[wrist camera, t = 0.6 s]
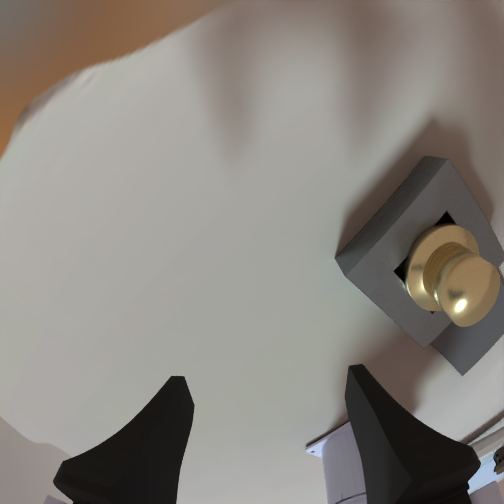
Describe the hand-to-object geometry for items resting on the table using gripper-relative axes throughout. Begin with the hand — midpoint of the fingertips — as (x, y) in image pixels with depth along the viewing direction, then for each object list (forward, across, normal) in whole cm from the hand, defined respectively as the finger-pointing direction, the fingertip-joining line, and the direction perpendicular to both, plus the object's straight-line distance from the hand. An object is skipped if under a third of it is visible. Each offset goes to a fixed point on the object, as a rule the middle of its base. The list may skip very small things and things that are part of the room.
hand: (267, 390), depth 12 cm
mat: (+10, -20, +7) cm, 24 cm away
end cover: (+10, -12, -2) cm, 16 cm away
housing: (+10, -12, -2) cm, 16 cm away
